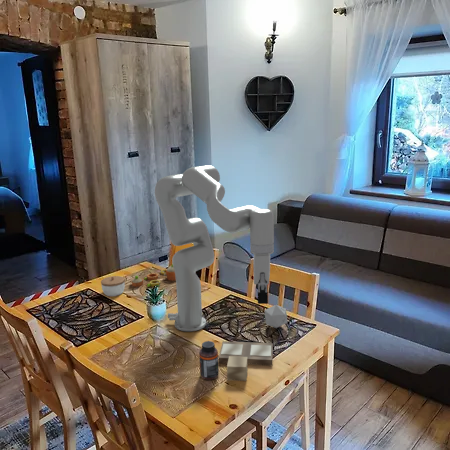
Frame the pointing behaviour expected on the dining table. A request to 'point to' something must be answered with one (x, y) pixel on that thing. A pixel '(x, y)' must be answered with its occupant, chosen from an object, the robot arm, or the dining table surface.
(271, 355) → the base board
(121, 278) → the lidded jar
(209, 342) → the supplement bottle
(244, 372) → the oak block
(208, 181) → the robot arm
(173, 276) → the cupcakes and donuts
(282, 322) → the die
